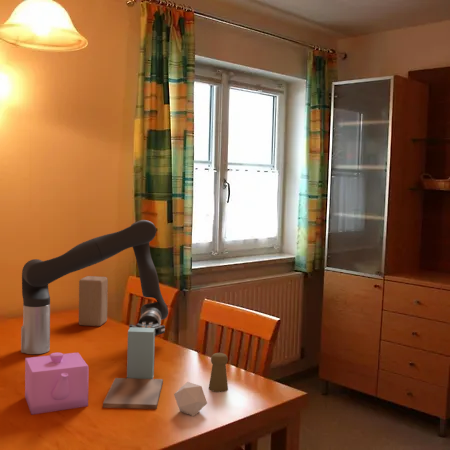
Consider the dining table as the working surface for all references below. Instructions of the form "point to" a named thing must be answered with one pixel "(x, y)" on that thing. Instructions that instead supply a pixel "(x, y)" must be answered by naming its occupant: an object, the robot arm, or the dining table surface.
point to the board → (134, 393)
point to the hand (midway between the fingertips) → (144, 335)
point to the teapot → (56, 382)
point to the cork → (218, 373)
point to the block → (93, 300)
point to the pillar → (140, 353)
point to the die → (190, 398)
